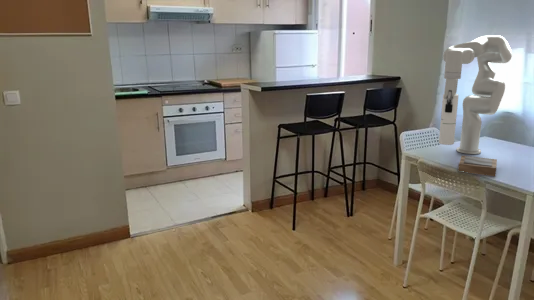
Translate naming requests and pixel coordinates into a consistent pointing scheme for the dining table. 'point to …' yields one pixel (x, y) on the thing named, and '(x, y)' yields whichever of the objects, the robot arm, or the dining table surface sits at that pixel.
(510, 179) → the dining table surface
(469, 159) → the walnut base
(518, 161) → the dining table surface
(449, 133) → the cylindrical container
